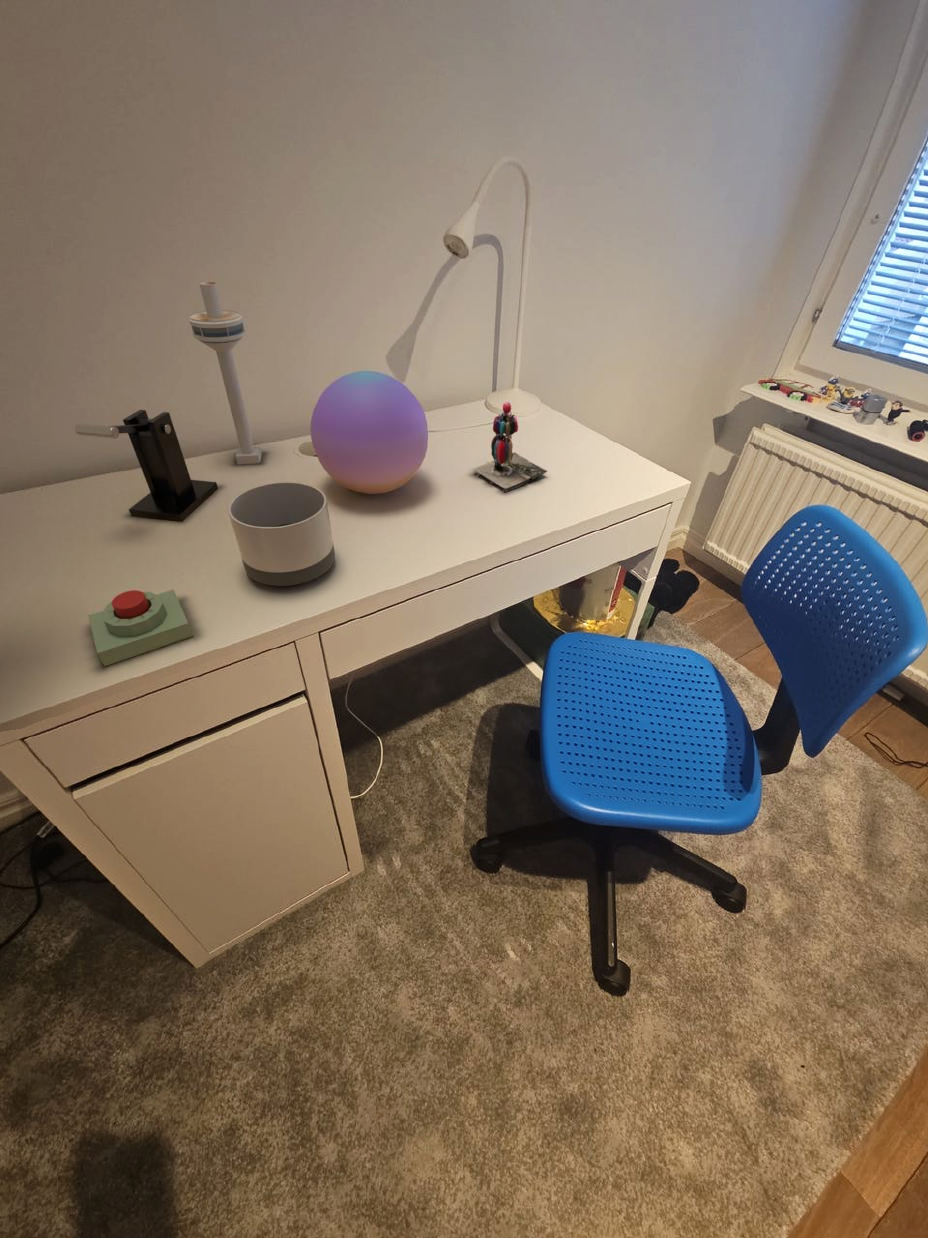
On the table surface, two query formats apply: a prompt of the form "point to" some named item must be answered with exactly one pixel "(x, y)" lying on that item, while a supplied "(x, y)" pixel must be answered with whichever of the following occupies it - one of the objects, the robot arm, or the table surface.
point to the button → (130, 604)
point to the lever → (113, 429)
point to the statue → (507, 456)
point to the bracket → (165, 472)
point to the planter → (283, 532)
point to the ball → (369, 432)
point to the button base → (139, 628)
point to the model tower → (226, 361)
